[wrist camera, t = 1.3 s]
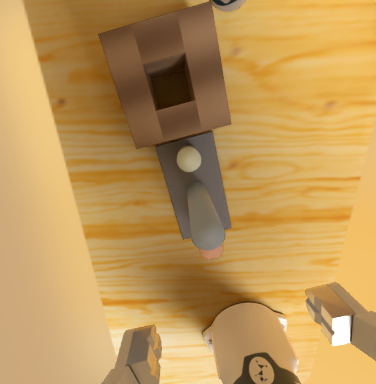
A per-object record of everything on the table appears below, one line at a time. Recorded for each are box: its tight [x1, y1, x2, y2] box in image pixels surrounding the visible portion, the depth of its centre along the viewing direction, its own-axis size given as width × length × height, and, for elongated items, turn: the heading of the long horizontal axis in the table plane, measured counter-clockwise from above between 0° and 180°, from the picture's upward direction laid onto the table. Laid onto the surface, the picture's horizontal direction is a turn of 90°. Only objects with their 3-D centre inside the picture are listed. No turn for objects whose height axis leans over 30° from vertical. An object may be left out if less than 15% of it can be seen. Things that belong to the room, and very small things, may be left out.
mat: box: [156, 132, 231, 240], centre depth 31 cm, size 17×9×1 cm, turn 14°
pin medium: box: [199, 244, 223, 259], centre depth 28 cm, size 3×3×8 cm
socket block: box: [98, 1, 231, 149], centre depth 23 cm, size 12×12×6 cm
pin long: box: [187, 181, 225, 250], centre depth 24 cm, size 3×3×14 cm
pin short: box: [177, 145, 201, 172], centre depth 26 cm, size 3×3×5 cm
